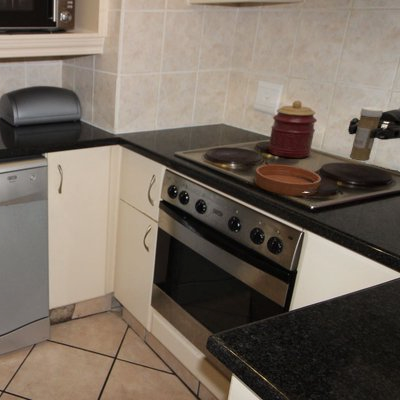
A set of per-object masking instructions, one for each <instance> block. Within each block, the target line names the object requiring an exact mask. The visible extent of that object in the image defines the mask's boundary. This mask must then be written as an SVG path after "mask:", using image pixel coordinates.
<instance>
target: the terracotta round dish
mask: <svg viewBox="0 0 400 400" xmlns="http://www.w3.org/2000/svg"><path fill="white" fill-rule="evenodd" d="M292 175H293V176H292ZM297 176H299V177H297ZM300 177H304V178H307V179H310V180H312V181H314V182H313V183H312V182H310V181H308V180H306V179H304V178H300ZM253 180H254V183H255V185H256V186H257V187H259V188H260V189H263V190H265V191H267V192H270V193H274V194H278V195H282V196H283V195H284V196H290V197H308V196H313V195H315V194H316V193H317V192H318V191H319V190H320V186H321V182H322V177H321V176H320V175H319V174H317V173H316V172H314V171H311V170H309V169H306V168H302V167H299V166H298V167H297V166H294V165H288V164H287V165H286V164H264V165H260V166H258V167H256V169H255V174H254V179H253ZM318 187H319V189H318V190H317V191H314V192H310V193H302V192H304V191H308V190H314V189H317V188H318Z"/></svg>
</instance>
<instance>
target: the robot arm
mask: <svg viewBox="0 0 400 400" xmlns="http://www.w3.org/2000/svg"><path fill="white" fill-rule="evenodd" d="M359 120H360V119H359V118H358V117H353V118H352V119H351V120H350V121H349V125H348V129H347V132H348V134H349V135H352V136H353V135H355V134H356V130H357V127H358V124H359ZM369 138H371V139H374V138H375V139H378V140H381V141H389V140H397V139H400V107H399V108H398V109H397V108H396V109H391V110H386V111H383V112H382V116H381V117H380V119H379V123H378V127H377V129H373V130H372V131H371V133H370V137H369ZM375 139H374V140H375Z"/></svg>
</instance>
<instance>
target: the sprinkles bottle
mask: <svg viewBox="0 0 400 400" xmlns="http://www.w3.org/2000/svg"><path fill="white" fill-rule="evenodd" d="M382 112H384V110H383V108H380V107H374V106H363V107H361V110H360V113H359V114H360V117H359V119H358V120H359V124H358V127H357V130H356V134H354V138H353V141H352V148H351V151H350V152H351V153H350V154H349V158H350V159H352V160H355V161H360V162H361V161H362V162H366V161H369V160H370V159H371V158H370V157H371V152H372V149H373V147H374V142H375V139H376V138H374V139H371V138H369V137H370V133H371V131H372V130H373V129H377V127H378V123H379V119H380V117H381V116H382Z"/></svg>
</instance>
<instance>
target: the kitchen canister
mask: <svg viewBox="0 0 400 400" xmlns="http://www.w3.org/2000/svg"><path fill="white" fill-rule="evenodd" d="M302 105H303V104H302V101H300V100H294V102H292V105H284V106H282V107H280V108H278V109H276V112H277V114H275V115H273V117H272V119H273V125H272V126H271V127H270V128H271V130H270V131H271V132H270V137H269V142H268V147H267V148H268V152H269V154H272V155H274V156H279V157H284V158H296V159H297V158H307V157H308V156H310V154H311V151H312V144H313V139H314V135H315V132H316V129H315V124H316V122H317V121H318V119H317V118H316V117H315V116H314V115H315V114H316V111H314V110H313V109H312V107H308V106H302Z"/></svg>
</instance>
